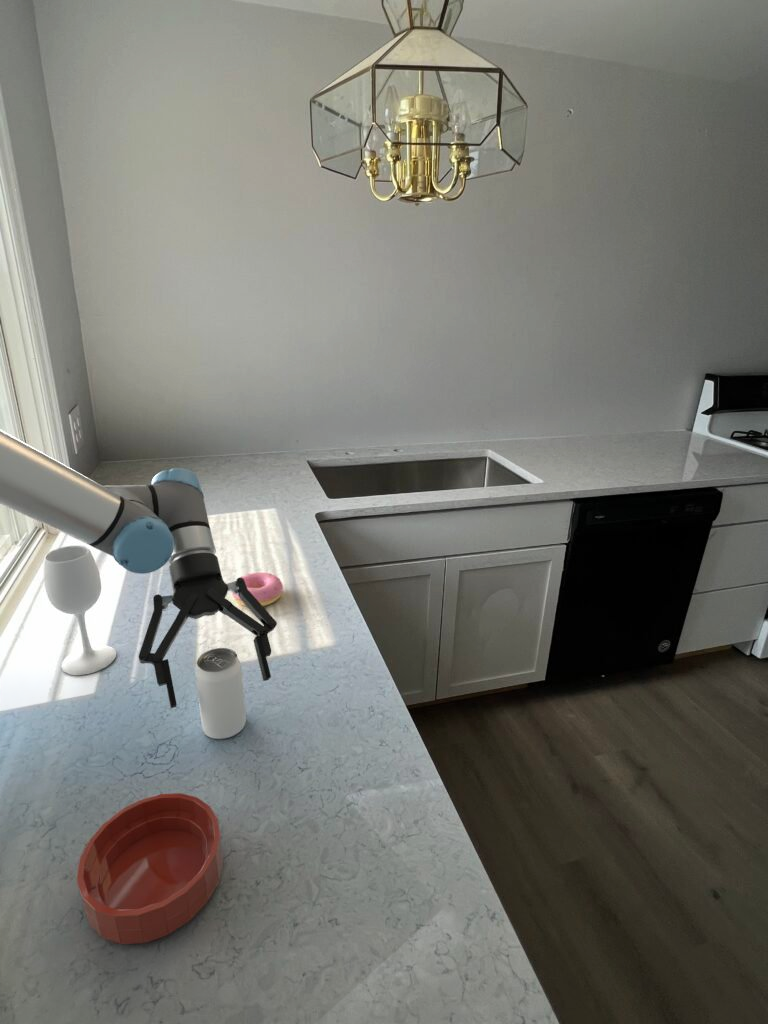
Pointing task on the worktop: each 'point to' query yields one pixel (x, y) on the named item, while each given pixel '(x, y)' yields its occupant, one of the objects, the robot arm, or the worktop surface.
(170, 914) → the bowl
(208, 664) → the can
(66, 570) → the wineglass
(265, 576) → the doughnut
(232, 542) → the worktop surface
